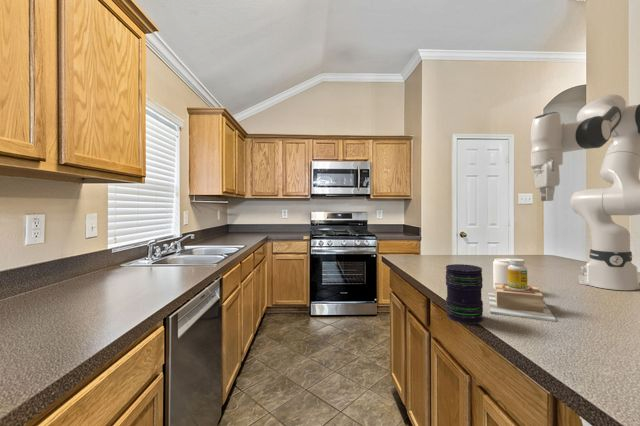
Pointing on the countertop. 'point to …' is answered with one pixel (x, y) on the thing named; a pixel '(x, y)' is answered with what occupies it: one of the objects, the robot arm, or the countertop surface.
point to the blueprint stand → (519, 303)
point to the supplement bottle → (517, 275)
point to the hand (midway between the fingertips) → (546, 201)
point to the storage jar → (464, 293)
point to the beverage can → (500, 271)
